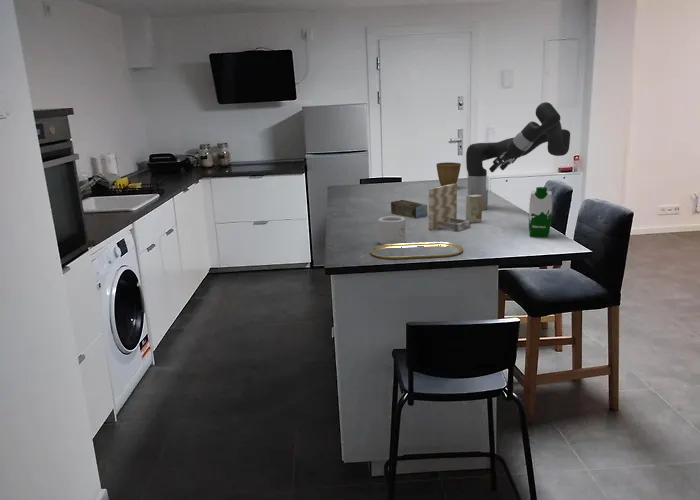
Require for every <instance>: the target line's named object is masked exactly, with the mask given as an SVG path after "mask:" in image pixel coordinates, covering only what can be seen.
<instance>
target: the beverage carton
mask: <svg viewBox="0 0 700 500" xmlns="http://www.w3.org/2000/svg"><path fill="white" fill-rule="evenodd" d="M390 211H391V213H390V214H393V215H399V216H402V215H403V217H407V216H408V217H407V218H412V217H414V218H413V219H420V218H419V217H421V218H426V217H425V216H427V217H428V204H424V203H419V202H413V201H410V200H404V199H400V200H399V199H398V200H395V201H391V202H390Z"/></svg>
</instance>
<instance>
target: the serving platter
mask: <svg viewBox="0 0 700 500" xmlns="http://www.w3.org/2000/svg"><path fill="white" fill-rule="evenodd" d="M438 245H439V246H438ZM440 245H441V246H440ZM417 246H424V247H446V246H450V247H449V248H452V247H454V249H455V248H457V249H458V250H459V251H458V250H457V249H456V250H457V252H454V253H442V254H441V253H440V254H425V255H424V254H422V255H421V254H419V255H403V256H396V255H395V256H393V255H392V256H390V255H389V256H388V255H381V254H376V252H377V251H380V250H386V249H395V248H396V249H397V248H398V249H399V248H401V247H402V248H418V247H417ZM402 248H401V249H402ZM463 251H464V248H463V246H461V245H459V244H457V243H452V242H446V241H445V242H443V241H440V242H439V241H433V242H432V241H431V242H411V243H410V242H409V243H408V242H407V243H406V242H405V243H404V244H387V245H382V244H379V245H376V246H374V247H371V248H370V250H369V253H370V254H371V255H372V256H374V257H377V258H379V259H385V260H386V259H387V260H404V259H405V260H407V259H408V260H409V259H424V258H425V259H427V258H429V259H430V257H431V258H447V256H448V257H454V256H456V255H457V256H458V255H460V254H461V253H462V252H463ZM453 255H454V256H453Z"/></svg>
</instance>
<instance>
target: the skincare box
mask: <svg viewBox="0 0 700 500" xmlns="http://www.w3.org/2000/svg"><path fill="white" fill-rule="evenodd" d="M482 197H483V196H481V195H468V194H467V195H466V200H465V201H466V202H465V203H466V204H465V205H466V206H465V220H469V221H471V224H472V223H474V224H475V223H481V222H482V218H483V216H482V215H483V213H482V212H483V210H482Z"/></svg>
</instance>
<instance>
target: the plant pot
mask: <svg viewBox="0 0 700 500" xmlns="http://www.w3.org/2000/svg"><path fill="white" fill-rule="evenodd" d="M461 166H462V164H461V163H460V162H438V163H436V171H437V177H438V181H439V184H440V186H445V185H449V184H457V182H458V180H459V175H460V170H461Z"/></svg>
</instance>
